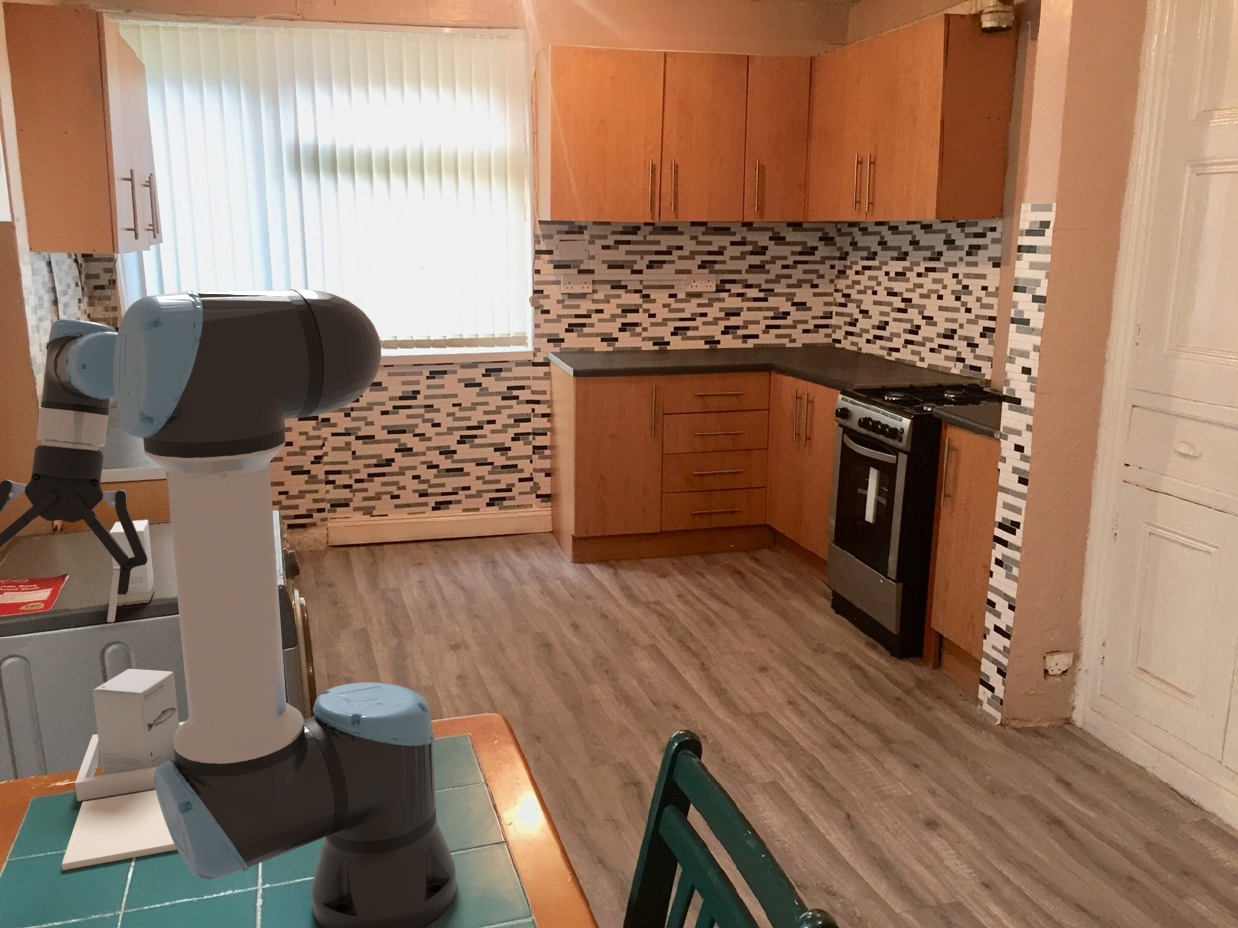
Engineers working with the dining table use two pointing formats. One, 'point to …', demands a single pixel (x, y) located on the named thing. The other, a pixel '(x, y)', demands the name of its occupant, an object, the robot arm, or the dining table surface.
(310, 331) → the robot arm
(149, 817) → the cream coaster
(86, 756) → the white square frame
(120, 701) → the supplement box
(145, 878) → the dining table surface
